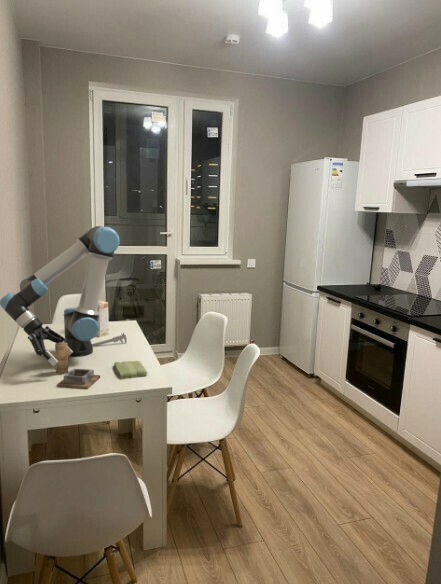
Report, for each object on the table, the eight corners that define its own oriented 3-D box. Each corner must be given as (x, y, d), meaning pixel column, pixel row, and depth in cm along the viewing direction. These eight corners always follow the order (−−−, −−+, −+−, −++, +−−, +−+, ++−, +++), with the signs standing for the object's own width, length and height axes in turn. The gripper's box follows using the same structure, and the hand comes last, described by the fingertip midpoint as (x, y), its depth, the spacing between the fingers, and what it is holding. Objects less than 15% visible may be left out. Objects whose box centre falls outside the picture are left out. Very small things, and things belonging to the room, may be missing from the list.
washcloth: (140, 364, 205) (140, 357, 204) (148, 377, 189) (148, 370, 188) (112, 367, 200) (112, 360, 199) (118, 380, 184) (118, 373, 183)
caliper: (126, 343, 236) (126, 332, 235) (126, 344, 235) (126, 332, 234) (87, 347, 228) (87, 335, 227) (87, 347, 227) (87, 336, 226)
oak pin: (59, 370, 193) (58, 342, 190) (70, 370, 192) (69, 342, 190) (54, 373, 188) (53, 345, 186) (64, 374, 187) (64, 345, 185)
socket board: (71, 375, 187) (71, 366, 186) (100, 377, 185) (100, 368, 185) (56, 386, 174) (56, 377, 173) (87, 389, 173) (87, 379, 172)
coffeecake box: (82, 332, 254) (81, 300, 251) (92, 330, 260) (91, 298, 257) (99, 337, 246) (98, 303, 242) (109, 334, 252) (108, 301, 248)
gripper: (39, 322, 200) (71, 355, 201) (7, 336, 176) (43, 374, 177) (50, 311, 199) (81, 345, 200) (18, 324, 175) (54, 362, 175)
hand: (63, 358), depth 188 cm, fingers open, 13 cm apart
